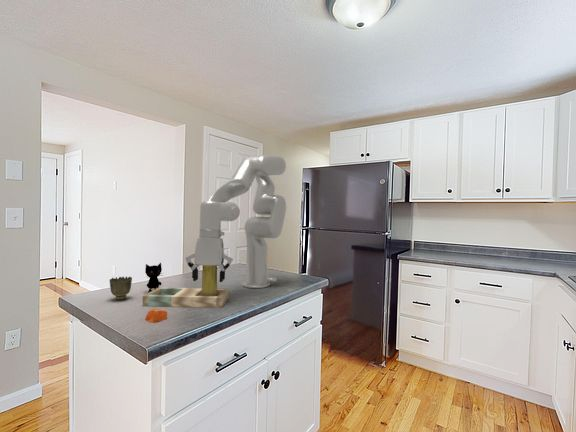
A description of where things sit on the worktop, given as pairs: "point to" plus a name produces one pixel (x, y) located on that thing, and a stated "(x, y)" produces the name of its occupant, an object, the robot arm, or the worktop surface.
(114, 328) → the worktop surface
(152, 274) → the cat figurine
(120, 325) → the worktop surface
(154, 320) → the rock
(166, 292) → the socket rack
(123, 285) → the cup
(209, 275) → the vase
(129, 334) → the worktop surface
